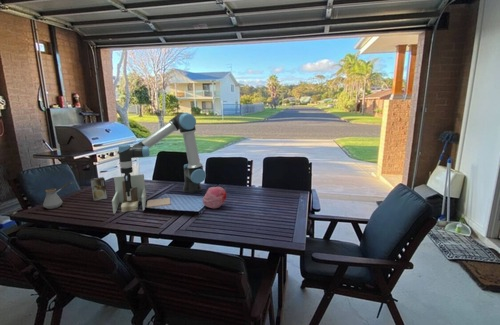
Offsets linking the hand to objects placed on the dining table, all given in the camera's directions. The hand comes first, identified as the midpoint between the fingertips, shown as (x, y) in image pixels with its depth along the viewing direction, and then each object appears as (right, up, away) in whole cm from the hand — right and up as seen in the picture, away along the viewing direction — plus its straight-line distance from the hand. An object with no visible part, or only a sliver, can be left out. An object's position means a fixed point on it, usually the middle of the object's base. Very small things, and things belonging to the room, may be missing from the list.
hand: (129, 199), depth 191 cm
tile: (+18, -4, +7) cm, 20 cm away
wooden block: (0, -5, +1) cm, 6 cm away
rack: (0, -5, +1) cm, 5 cm away
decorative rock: (+61, -5, -3) cm, 61 cm away
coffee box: (-31, -2, +19) cm, 37 cm away
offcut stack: (+2, -6, -5) cm, 8 cm away
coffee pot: (-53, -5, +6) cm, 54 cm away
